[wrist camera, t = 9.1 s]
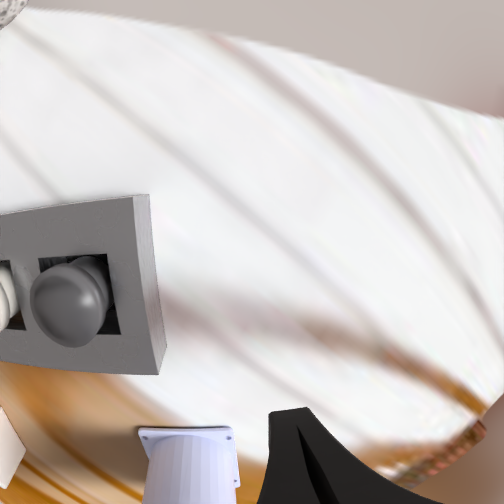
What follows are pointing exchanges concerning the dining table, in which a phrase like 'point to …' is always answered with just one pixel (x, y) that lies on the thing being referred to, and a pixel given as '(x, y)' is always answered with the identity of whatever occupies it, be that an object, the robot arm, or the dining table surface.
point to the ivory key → (7, 295)
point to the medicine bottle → (9, 450)
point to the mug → (10, 10)
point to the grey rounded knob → (72, 300)
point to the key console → (121, 273)
